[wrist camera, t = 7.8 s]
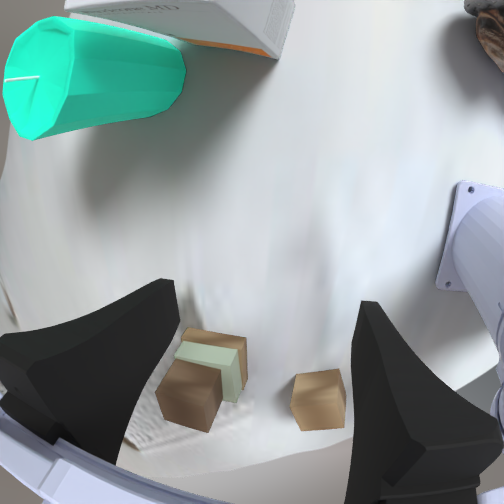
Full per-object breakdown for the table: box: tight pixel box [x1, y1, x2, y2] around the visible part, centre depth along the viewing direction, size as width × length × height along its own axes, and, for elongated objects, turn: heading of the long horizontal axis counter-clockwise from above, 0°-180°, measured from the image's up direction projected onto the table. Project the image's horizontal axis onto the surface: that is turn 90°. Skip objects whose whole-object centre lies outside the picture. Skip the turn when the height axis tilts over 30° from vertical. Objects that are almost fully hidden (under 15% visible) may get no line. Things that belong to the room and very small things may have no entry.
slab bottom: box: [181, 327, 248, 390], centre depth 28 cm, size 6×6×2 cm
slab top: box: [174, 341, 242, 403], centre depth 26 cm, size 5×5×2 cm
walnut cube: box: [155, 358, 223, 433], centre depth 23 cm, size 4×4×4 cm
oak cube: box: [290, 369, 346, 431], centre depth 25 cm, size 4×4×4 cm
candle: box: [3, 16, 186, 141], centre depth 13 cm, size 6×6×12 cm
